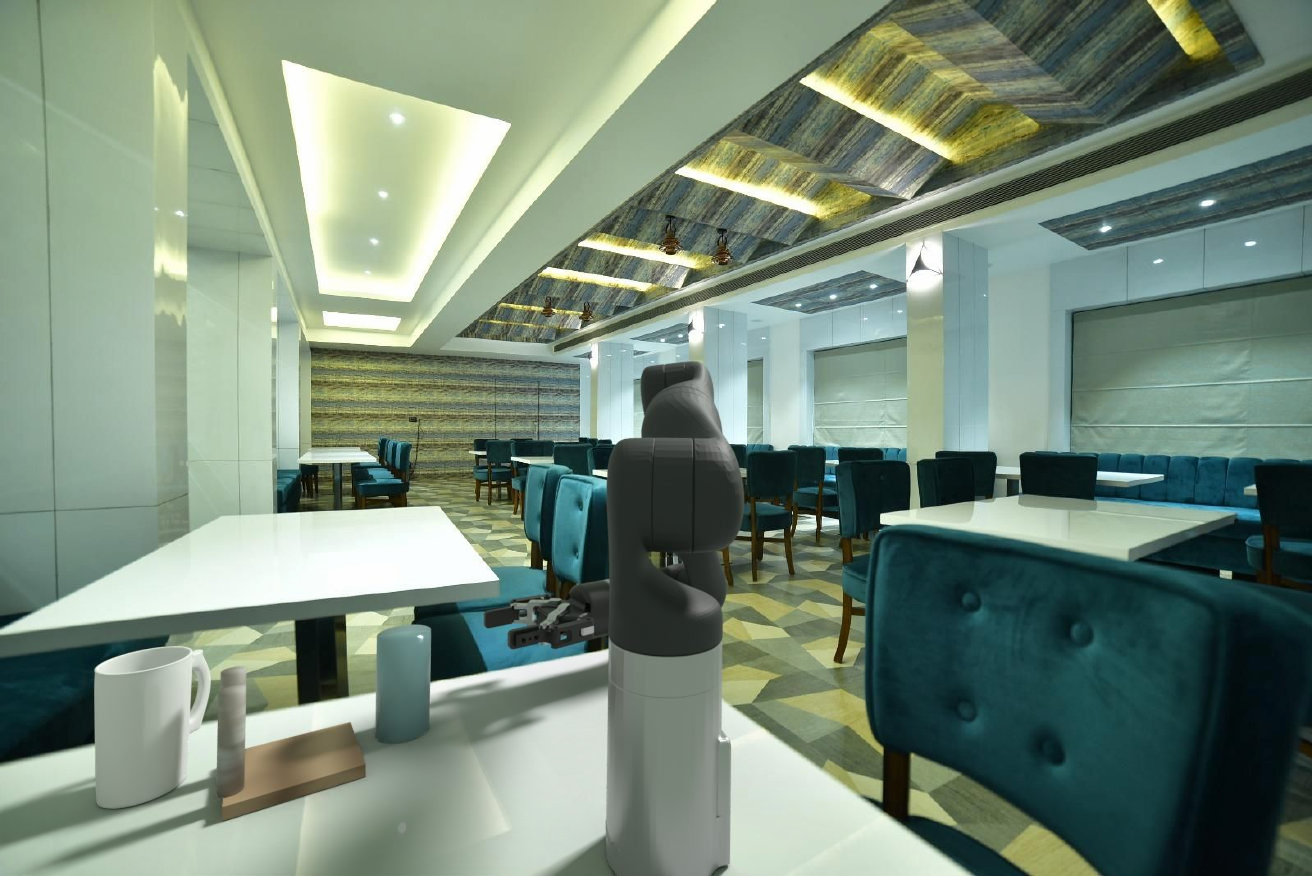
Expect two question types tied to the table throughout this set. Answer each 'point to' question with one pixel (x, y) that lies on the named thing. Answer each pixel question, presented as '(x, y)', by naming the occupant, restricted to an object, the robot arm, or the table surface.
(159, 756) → the mug
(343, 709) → the table surface
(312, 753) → the board
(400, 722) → the pale blue cylinder
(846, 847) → the table surface
